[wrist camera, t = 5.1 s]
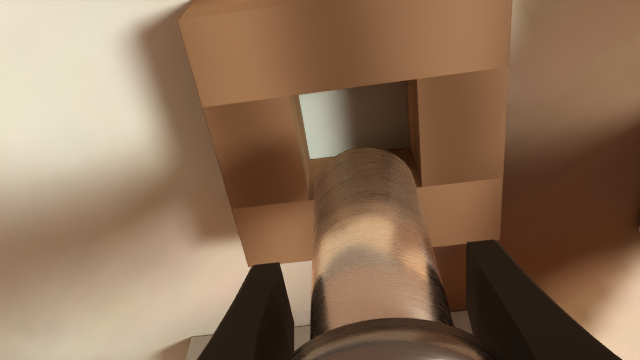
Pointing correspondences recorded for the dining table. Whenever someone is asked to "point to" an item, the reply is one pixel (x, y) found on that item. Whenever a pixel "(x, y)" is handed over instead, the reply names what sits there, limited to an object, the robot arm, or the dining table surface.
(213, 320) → the dining table surface
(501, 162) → the brown square frame
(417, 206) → the pin
